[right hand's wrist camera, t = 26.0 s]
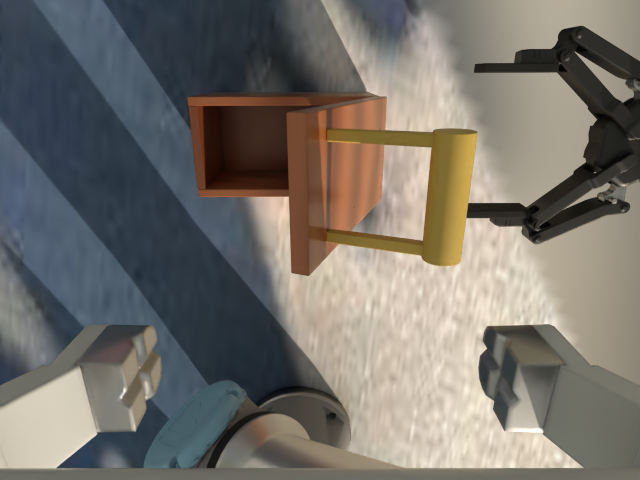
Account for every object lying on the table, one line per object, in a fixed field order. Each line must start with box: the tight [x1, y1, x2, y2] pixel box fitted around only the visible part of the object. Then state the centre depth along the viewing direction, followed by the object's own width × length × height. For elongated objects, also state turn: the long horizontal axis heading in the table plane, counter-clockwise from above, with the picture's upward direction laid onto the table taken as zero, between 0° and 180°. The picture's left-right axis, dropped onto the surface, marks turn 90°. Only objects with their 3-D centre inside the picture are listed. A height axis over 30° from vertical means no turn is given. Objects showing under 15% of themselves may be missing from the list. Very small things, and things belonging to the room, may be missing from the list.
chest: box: [187, 92, 379, 197], centre depth 43 cm, size 17×9×10 cm, turn 90°
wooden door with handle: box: [287, 97, 477, 276], centre depth 29 cm, size 17×9×9 cm
